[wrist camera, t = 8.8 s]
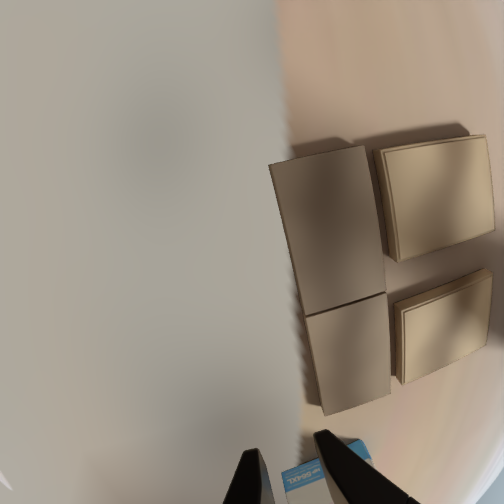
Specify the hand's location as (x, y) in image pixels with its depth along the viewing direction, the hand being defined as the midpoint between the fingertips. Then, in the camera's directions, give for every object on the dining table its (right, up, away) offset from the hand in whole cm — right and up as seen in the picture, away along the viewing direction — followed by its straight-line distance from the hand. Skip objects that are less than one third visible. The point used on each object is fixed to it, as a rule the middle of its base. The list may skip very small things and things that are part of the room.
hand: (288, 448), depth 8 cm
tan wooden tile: (+5, +2, +13) cm, 14 cm away
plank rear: (+14, 0, +14) cm, 20 cm away
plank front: (+12, +9, +11) cm, 19 cm away
